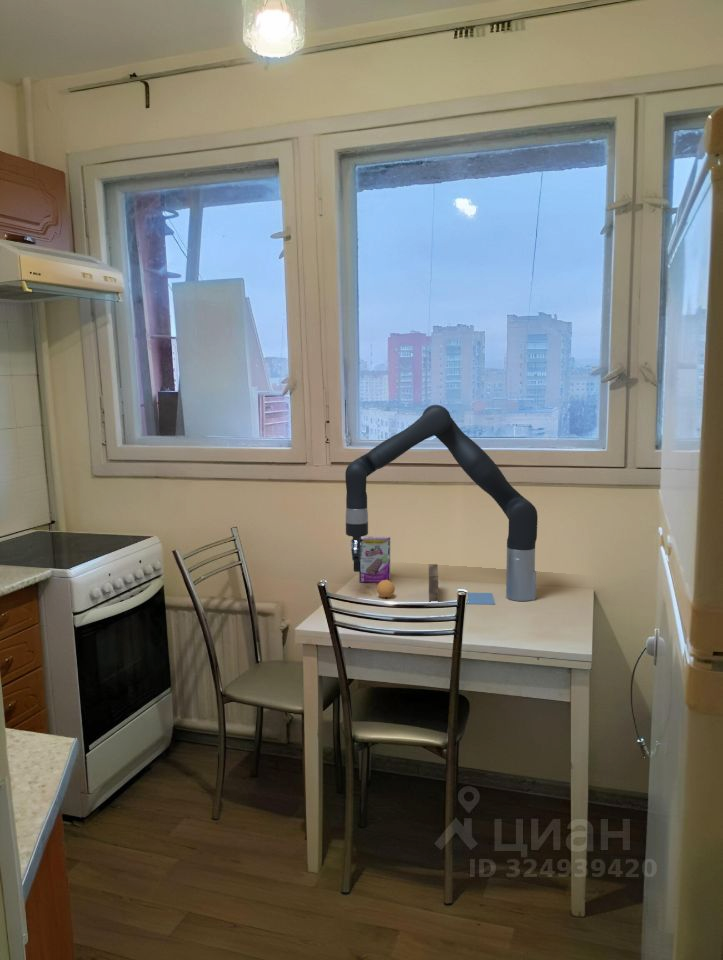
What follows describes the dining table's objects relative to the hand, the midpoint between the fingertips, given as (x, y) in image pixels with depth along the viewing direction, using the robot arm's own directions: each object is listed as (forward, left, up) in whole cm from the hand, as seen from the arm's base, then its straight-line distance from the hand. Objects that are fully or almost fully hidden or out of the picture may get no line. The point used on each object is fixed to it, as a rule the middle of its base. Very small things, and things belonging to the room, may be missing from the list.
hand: (357, 571), depth 239 cm
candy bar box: (-5, -19, -9) cm, 22 cm away
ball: (-10, 0, -6) cm, 11 cm away
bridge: (-26, 0, -9) cm, 27 cm away
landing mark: (-40, 0, -9) cm, 41 cm away
